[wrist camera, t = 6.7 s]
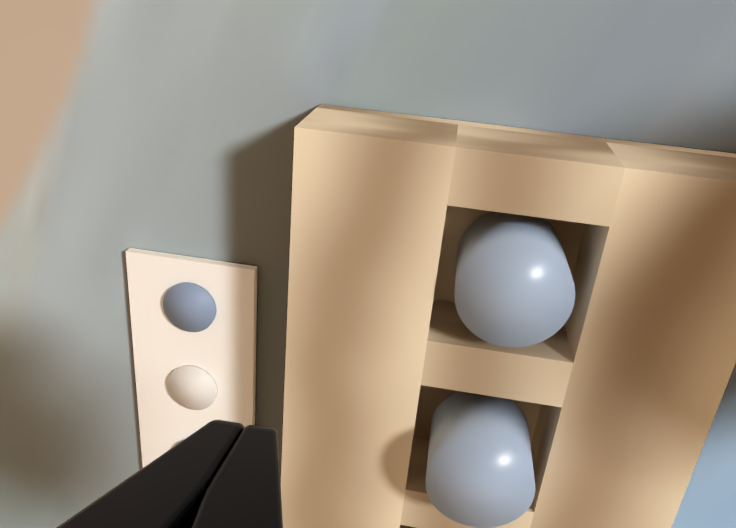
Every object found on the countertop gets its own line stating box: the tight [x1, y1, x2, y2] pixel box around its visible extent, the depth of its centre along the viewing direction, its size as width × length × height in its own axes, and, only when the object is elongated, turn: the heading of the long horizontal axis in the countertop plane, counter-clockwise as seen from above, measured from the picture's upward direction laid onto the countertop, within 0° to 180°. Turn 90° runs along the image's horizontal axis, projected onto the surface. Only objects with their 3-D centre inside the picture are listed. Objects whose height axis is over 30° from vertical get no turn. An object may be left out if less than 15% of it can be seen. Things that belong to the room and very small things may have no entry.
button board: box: [281, 104, 736, 528], centre depth 21 cm, size 12×18×3 cm, turn 175°
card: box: [126, 248, 257, 468], centre depth 23 cm, size 4×10×1 cm, turn 175°
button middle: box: [425, 391, 535, 528], centre depth 19 cm, size 3×3×2 cm
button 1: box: [454, 211, 575, 347], centre depth 18 cm, size 3×3×2 cm
